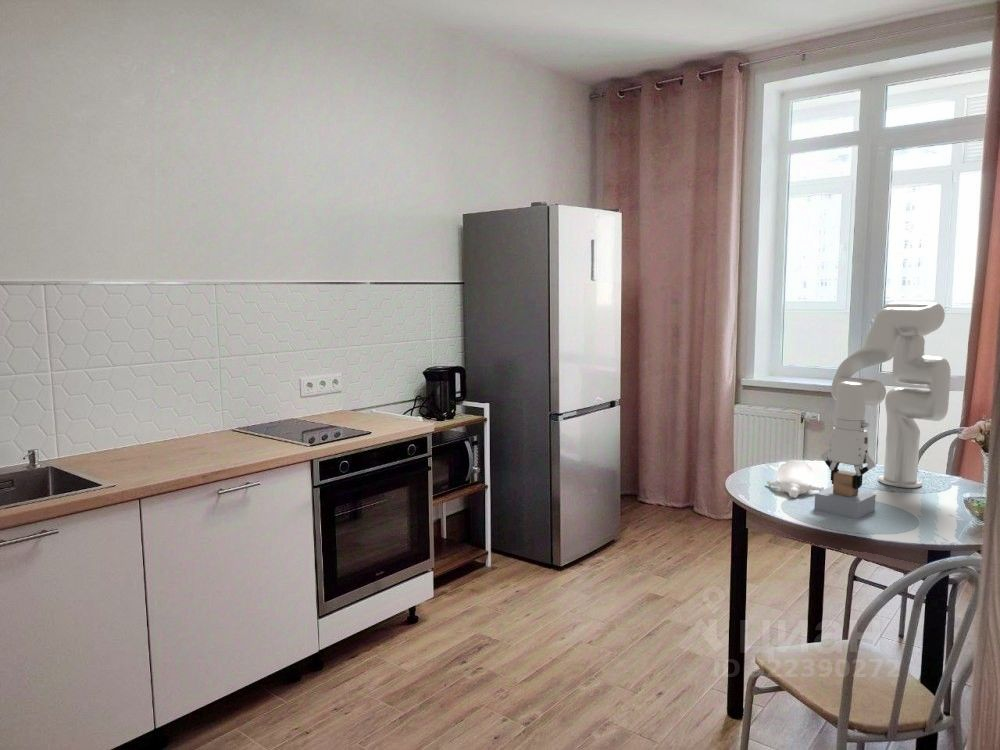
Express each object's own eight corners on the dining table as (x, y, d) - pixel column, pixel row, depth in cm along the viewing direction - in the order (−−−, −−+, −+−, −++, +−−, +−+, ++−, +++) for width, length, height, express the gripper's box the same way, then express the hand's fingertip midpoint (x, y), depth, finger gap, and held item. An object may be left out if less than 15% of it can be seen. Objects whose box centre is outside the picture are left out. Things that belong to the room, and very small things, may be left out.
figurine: (770, 475, 240) (763, 496, 217) (771, 451, 238) (764, 470, 216) (824, 481, 232) (823, 504, 210) (825, 456, 231) (824, 476, 209)
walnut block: (840, 489, 206) (841, 469, 205) (858, 493, 202) (859, 473, 202) (832, 493, 203) (833, 473, 202) (850, 496, 199) (851, 476, 198)
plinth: (833, 501, 212) (833, 485, 211) (874, 511, 203) (875, 494, 202) (814, 509, 204) (815, 493, 203) (856, 520, 195) (857, 502, 194)
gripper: (886, 427, 196) (882, 489, 198) (825, 418, 209) (822, 477, 211) (875, 431, 191) (871, 494, 193) (813, 422, 204) (810, 482, 206)
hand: (845, 485), depth 202 cm, fingers open, 5 cm apart
